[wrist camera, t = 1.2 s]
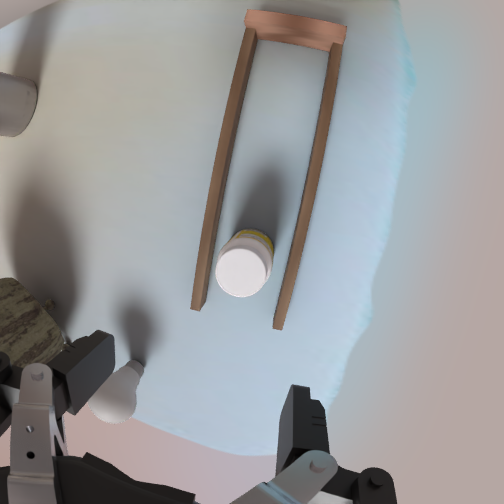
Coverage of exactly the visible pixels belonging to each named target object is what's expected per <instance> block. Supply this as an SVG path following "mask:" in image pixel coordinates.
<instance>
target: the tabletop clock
mask: <svg viewBox="0 0 504 504" xmlns="http://www.w3.org/2000/svg"><path fill="white" fill-rule="evenodd" d="M53 308H54V302H53V301H52V300H50V299H49V300H46V302H45V307H42V306H41V305H40V303H39V302H38V301H37V300H36V299H35V298H34V297H33V296H32V295H31V294H30V293H29V292H28V291H27V290H26V289H25V288H24V286H23V285H22V284H21V283H19V282H18V281H17V280H15V279H14V278H2V279H0V351H1V352H4V353H6V354H7V355H8V356H9V358H10V361H11V365H15V366H18V367H21V368H25V367H26V366H28V365H30V364H33V363H41V364H47V363H48V362H49V361H50V360H52V359H53V358H54V357H55V356H56V355H58V354H59V353H60V352H61V350H62V351H63V350H65V348H66V347H68V346H69V345H68V344H64V339H63V336H62V334H61V331H60V329H59V327H58V325H57V324H56V322H55V321H54V320H53V319H52V317H51V316H50V315H49V314H48V313H47V312H46V310H53Z"/></svg>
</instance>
